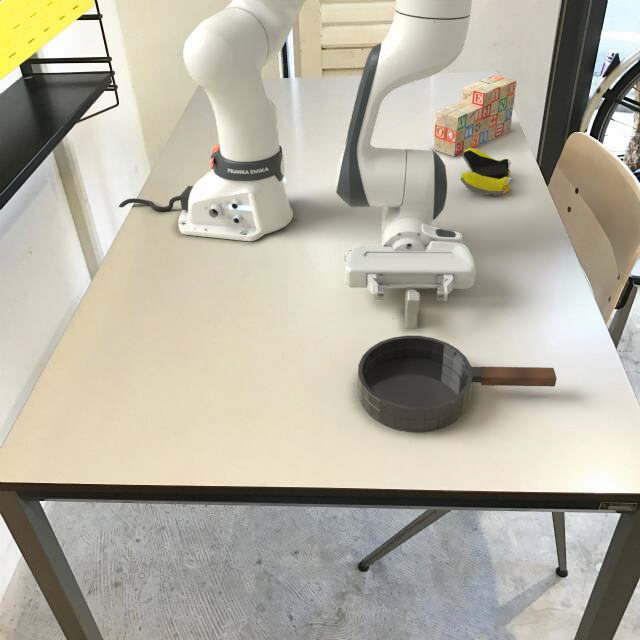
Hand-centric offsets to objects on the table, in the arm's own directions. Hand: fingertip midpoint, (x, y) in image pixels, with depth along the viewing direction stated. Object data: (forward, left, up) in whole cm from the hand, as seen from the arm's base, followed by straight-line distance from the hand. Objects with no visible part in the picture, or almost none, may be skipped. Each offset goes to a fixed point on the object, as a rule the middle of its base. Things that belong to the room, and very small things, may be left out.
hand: (410, 297), depth 104 cm
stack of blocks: (+17, +73, -6) cm, 75 cm away
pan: (0, -15, -6) cm, 16 cm away
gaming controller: (+17, +49, -6) cm, 53 cm away
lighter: (0, 0, -6) cm, 6 cm away
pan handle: (+13, -15, -3) cm, 20 cm away
